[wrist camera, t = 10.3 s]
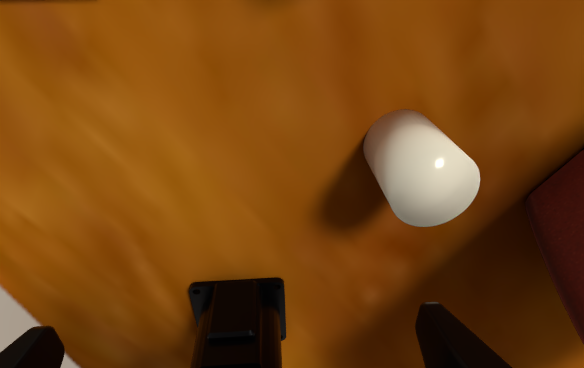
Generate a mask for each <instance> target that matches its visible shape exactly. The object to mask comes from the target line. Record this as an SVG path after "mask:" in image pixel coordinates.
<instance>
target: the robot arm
mask: <svg viewBox="0 0 584 368" xmlns="http://www.w3.org/2000/svg"><path fill="white" fill-rule="evenodd" d="M196 289H198V290H196ZM189 294H190V298H191V302H192V306H193V310H194V315H195V319H196V323H197V327H198V330H197V336H196V341H195V346H194V352H193V357H192V362H191V368H282V356H281V341H282V340H284V339H285V338H286V321H285V293H284V281H283V280H282V279H281V278H262V279H245V280H228V281H211V282H196V283H193V284H191V286H190V289H189ZM415 328H416V334H417V338H418V341H419V345H420V349H421V352H422V356H423V360H424V363H425V367H426V368H512V367H511V366H510V365H509V364H507V363H506V362H505V361H504V360H503V359H502V358H501V357H500V356H498V355H497V354H496V353H495V352H494V351H493V350H492V349H491V348H490V347H488V346H487V345H486V344H485V343H484V342H483V341H482V340H481V339H479V338H478V337H477V336H476V335H475V334H474V333H473V332H472V331H470V330H469V329H468V328H467V327H466V326H465V325H464V324H463V323H461V322H460V321H459V320H458V319H457V318H456V317H455V316H454V315H452V314H451V313H450V312H449V311H448V310H447V309H446V308H445V307H443V306H442V305H441V304H440V303H438V302H425V303H422V304H421V305H420V308H419V312H418V316H417V320H416V324H415ZM63 357H64V345H63V343H62V341H61V340H60V338H59V336H58V334H57V333H56V331H55V329H54V328H53V327H51V326H37V327H33V328H31V329H29V330H28V331H27V332H25V333H24V334H23V335H21V336H20V337H19V338H18V339H16V340H15V341H14V342H13V343H12V344H10V345H9V346H8V347H7V348H5V349H4V350H3V351H2V352H0V368H60V367H61V364H62V361H63Z"/></svg>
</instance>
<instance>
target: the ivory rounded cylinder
mask: <svg viewBox="0 0 584 368" xmlns="http://www.w3.org/2000/svg"><path fill="white" fill-rule="evenodd" d="M363 150H364V156H365V158H366V161H367V162H368V164H369V166H370V168H371V170H372V172H373V174H374V176H375V178H376V180H377V181H378V183H379V185H380V187H381V189H382V191H383V193H384V195H385V197H386V199H387V200H388V202H389V204H390V206H391V208H392V210H393V212H394V213H395V215H396V216H397V217H398V218H399V219H400V220H402V221H403V222H405V223H407V224H410V225H413V226H419V227H429V226H435V225H439V224H442V223H445V222H447V221H450V220H451V219H453V218H455V217H456V216H458V215H459V214H461V213H462V212H463V211H464V210H465V209H466V208H467V207H468V206H469V205H470V204H471V203H472V201H473V200H474V198H475V196H476V194H477V192H478V189H479V185H480V173H479V170H478V167H477V165H476V164H475V163H474V161H473V160H472V159H471V158H470V157H469V156H467V155H466V154H465V153H464V152H463V151H462V150H461V149H460V148H459V147H458V146H457V145H456V144H455V143H453V142H452V141H451V140H450V139H449V138H448V137H447V136H446V135H445V134H444V133H443V132H442V131H440V130H439V129H438V128H437V127H436V126H435V125H434V124H433V123H432V122H431V121H430V120H429V119H427V118H426V117H425V116H424V115H423V114H421V113H419V112H417V111H414V110H405V109H404V110H397V111H393V112H390V113H388V114H386V115H384V116H382V117H381V118H379V119H378V120H377V121H376V122H375V123H374V124H373V125H372V126H371V128H370V129H369V131H368V132H367V134H366V137H365V140H364V145H363Z"/></svg>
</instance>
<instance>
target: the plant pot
mask: <svg viewBox="0 0 584 368" xmlns="http://www.w3.org/2000/svg"><path fill="white" fill-rule="evenodd" d="M525 208H526V212H527V215H528V218H529V222H530V225H531V228H532V231H533V233H534V236H535V239H536V242H537V244H538V247H539V250H540V252H541V254H542V257H543V259H544V262H545V264H546V267H547V269H548V271H549V274H550V276H551V279H552V281H553V283H554V285H555V287H556V289H557V292H558V294H559V296H560V298H561V300H562V303H563V305H564V307H565V309H566V311H567V313H568V315H569V317H570V319H571V321H572V323H573V325H574V327H575V329H576V331H577V333H578V335H579V336H580V338H581V340H582V342H583V344H584V149H583V150H582V151H581V152H580V153H579V154H577V155H576V156H575V157H574V158H573V159H571V160H570V161H569V162H568V163H567V164H566V165H564V166H563V167H562V168H561V169H560V170H558V171H557V172H556V173H555V174H554V175H552V176H551V177H550V178H549V179H548V180H546V181H545V182H544V183H543V184H542V185H540V186H539V187H538V188H537V189H536V190H534V191H533V192H532V193H531V194H530V195H529V197H528V198H527V201H526V203H525Z"/></svg>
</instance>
